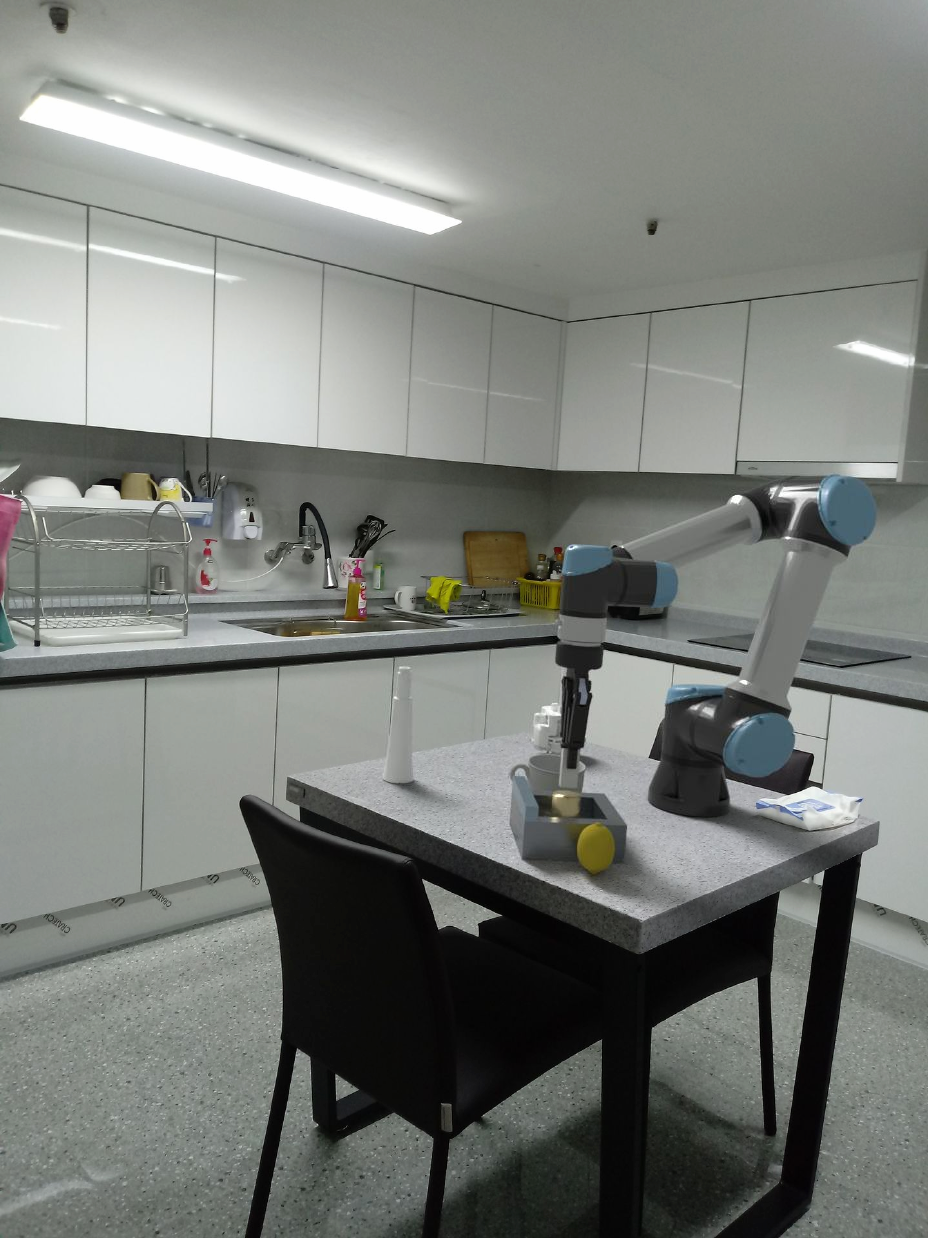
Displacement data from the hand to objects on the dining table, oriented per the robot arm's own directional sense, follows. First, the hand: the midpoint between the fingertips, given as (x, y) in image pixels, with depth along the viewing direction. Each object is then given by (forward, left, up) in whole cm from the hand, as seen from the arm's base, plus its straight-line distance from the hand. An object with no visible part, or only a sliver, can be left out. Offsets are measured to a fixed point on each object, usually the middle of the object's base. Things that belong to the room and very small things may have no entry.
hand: (567, 786), depth 150 cm
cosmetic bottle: (+27, -31, -10) cm, 42 cm away
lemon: (-2, +13, -10) cm, 16 cm away
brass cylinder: (0, 0, -10) cm, 10 cm away
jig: (0, 0, -9) cm, 9 cm away
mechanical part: (-8, -53, -10) cm, 55 cm away
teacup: (0, -20, -10) cm, 22 cm away
